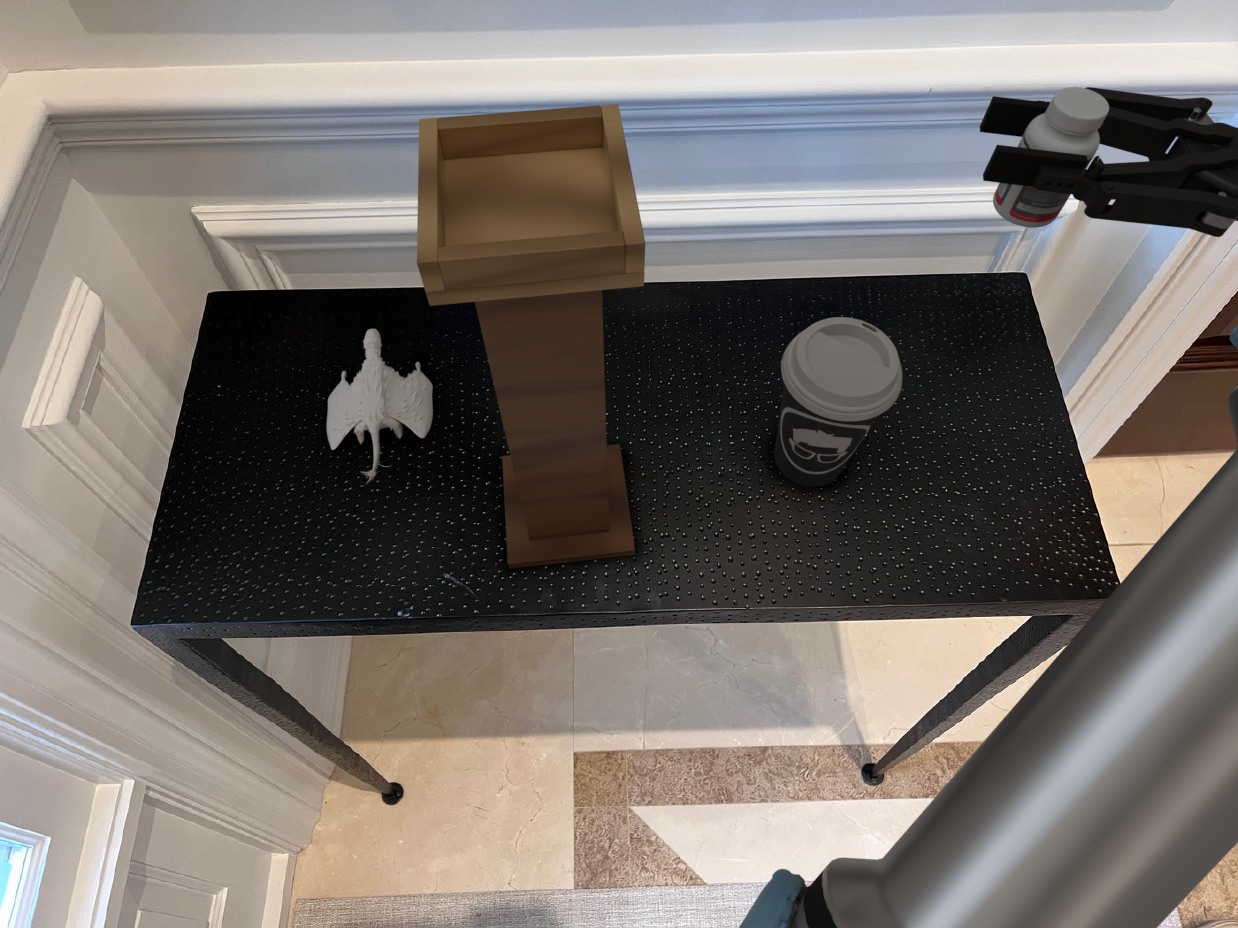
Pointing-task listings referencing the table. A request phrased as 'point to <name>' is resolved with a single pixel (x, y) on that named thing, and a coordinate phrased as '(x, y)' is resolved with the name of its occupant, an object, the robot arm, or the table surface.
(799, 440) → the coffee cup
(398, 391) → the winged dragon toy
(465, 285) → the wooden tray stand
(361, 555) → the table surface
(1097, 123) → the pill bottle
